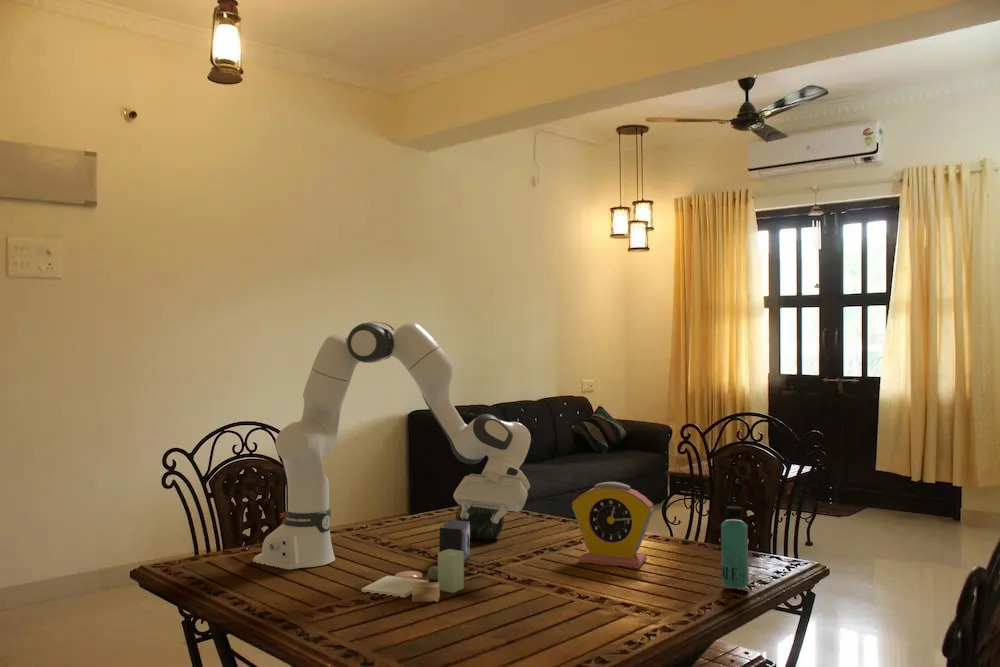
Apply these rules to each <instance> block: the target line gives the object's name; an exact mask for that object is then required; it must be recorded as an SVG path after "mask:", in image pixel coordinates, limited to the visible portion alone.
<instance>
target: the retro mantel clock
mask: <svg viewBox="0 0 1000 667" xmlns="http://www.w3.org/2000/svg"><path fill="white" fill-rule="evenodd" d="M571 503H572V505H571V508H572V510H573V513H574V516H575V519H576V522H577V525H578V527H579V531H580V532H581V536H582V539H583V542H584V544H585V546H586V549H587V550H586V551H585V552H584V553H583V554H582V555H580V556H579V557H578V562H579V563H580V562H581V563H580V564H587V563H594V564H593V565H598V564H603V565H602V566H608V565H611V567H619V566H623V567H622V568H629V567H635V568H634V569H639V568H640V567H641V566H643V564H644V563H645V562H646V561H647V559H648V558H647V557H648V556H647V554H646V553H638V551H639V550H640V548H641V545H642V542H643V539H644V537H645V534H646V531H647V528H648V527H649V526H648V525H649V523H650V520H651V519H652V518H651V517H652V516H653V515H652V514H653V513H654V510H655V508H654V503H653V502H652V501H651V500H649V499H648V497H646V496H645V495H644V494H642V493H640V492H639V491H638V490H636V489H633V488H631V486H630V485H629V484H625V483H623V482H618V481H604V482H599V483H597V484H594V486H593V487H592V488H590V489H589V490H587V491H585V492H584V493H582V494H580V495H579V496H577V497H576V498H575V499H573V501H572V502H571ZM636 567H637V568H636Z"/></svg>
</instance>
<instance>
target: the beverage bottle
mask: <svg viewBox="0 0 1000 667" xmlns="http://www.w3.org/2000/svg"><path fill="white" fill-rule="evenodd" d="M724 514H725V515H724V516H725V517H729V518H731V519H725V520H724V521H723V522H722V523H721V524H720V528H721V529H720V530H721V532H720V547H721V548H720V549H721V550H720V552H721V557H720V559H721V573H720V575H721V577H720V578H721V579H720V580H721V582H722V585H724V586H726V587H729V588H746V587H748V586H749V579H750V578H749V577H750V575H749V571H750V569H749V554H748V553H749V547H748V541H749V540H748V527H749V526H748V524H747V523H746V522H744V521H743V520H742V519H735V518H741V517H744V513H743V507H741V506H737V505H727V506H725V513H724Z"/></svg>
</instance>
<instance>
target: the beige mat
mask: <svg viewBox="0 0 1000 667" xmlns="http://www.w3.org/2000/svg"><path fill="white" fill-rule="evenodd" d="M414 582H430V579H429V580H428V579H421V578H420V579H411V578H403V577H395V575H386V576H384V577H382V578H379V579H377V580H376V581H374V582H372V583H370V584H367V585H366V586H364V587H362V588H361V592H362V593H366V592H370V593H369V594H374V593H379V594H378V595H382V594H386V595H385V596H390V595H392V596H391V597H398V596H400V597H399V598H407V597H409V596H411V595H412V586H413V584H414ZM410 594H411V595H410Z"/></svg>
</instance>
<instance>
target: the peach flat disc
mask: <svg viewBox="0 0 1000 667" xmlns="http://www.w3.org/2000/svg"><path fill="white" fill-rule="evenodd" d="M394 577H403V578H411V579H419V578H420V579H421V578H423V573H422V572H420V571H414V570H407V571H400V572H397V573H395V574H394Z"/></svg>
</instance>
